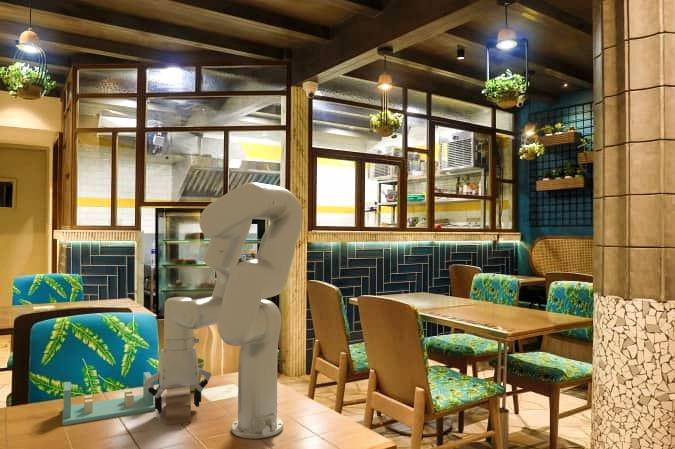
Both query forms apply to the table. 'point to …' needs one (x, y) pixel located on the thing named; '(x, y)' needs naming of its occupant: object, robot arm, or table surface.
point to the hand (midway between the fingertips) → (178, 408)
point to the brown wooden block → (178, 406)
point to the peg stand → (106, 405)
